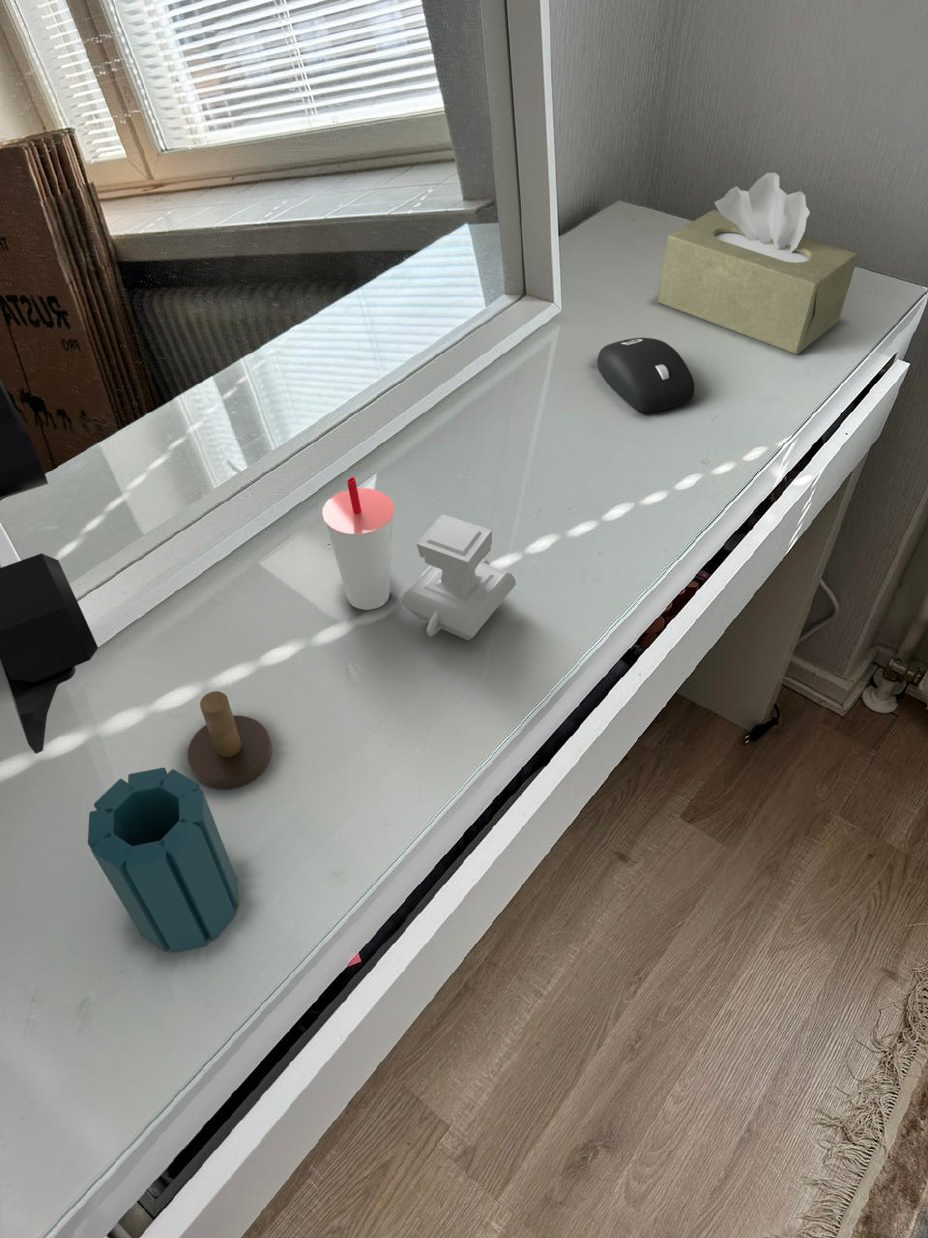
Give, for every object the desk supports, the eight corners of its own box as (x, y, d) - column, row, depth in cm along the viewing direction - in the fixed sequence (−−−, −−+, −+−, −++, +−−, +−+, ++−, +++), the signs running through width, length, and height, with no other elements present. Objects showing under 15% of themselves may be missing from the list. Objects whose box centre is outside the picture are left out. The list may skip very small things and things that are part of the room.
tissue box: (654, 302, 109) (675, 161, 97) (698, 273, 114) (723, 136, 102) (799, 356, 100) (841, 209, 88) (840, 323, 105) (885, 179, 93)
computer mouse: (639, 348, 101) (644, 314, 98) (701, 402, 94) (709, 368, 91) (580, 363, 99) (583, 329, 96) (638, 420, 92) (644, 385, 89)
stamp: (466, 669, 69) (465, 589, 63) (393, 636, 72) (385, 556, 65) (522, 596, 74) (526, 516, 68) (452, 568, 77) (450, 488, 71)
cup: (330, 617, 73) (310, 498, 64) (341, 571, 77) (324, 453, 68) (397, 620, 73) (386, 501, 64) (404, 574, 76) (395, 456, 68)
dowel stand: (207, 803, 61) (187, 750, 57) (179, 745, 65) (157, 691, 60) (285, 766, 63) (270, 712, 59) (253, 711, 67) (237, 657, 62)
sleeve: (137, 961, 54) (85, 877, 47) (139, 870, 58) (90, 780, 51) (241, 938, 55) (205, 852, 47) (235, 850, 59) (201, 759, 52)
